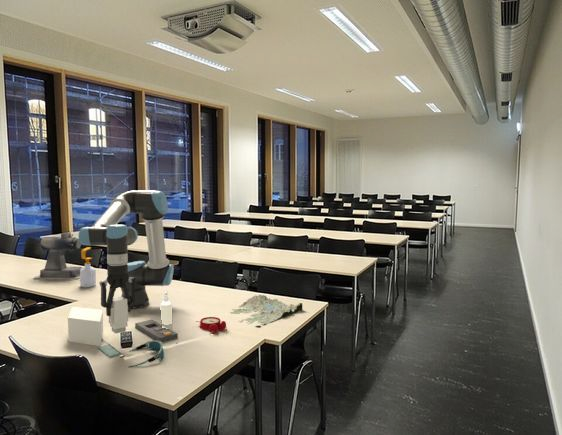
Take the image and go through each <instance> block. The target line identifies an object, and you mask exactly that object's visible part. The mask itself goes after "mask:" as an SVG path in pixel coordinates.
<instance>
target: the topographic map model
mask: <svg viewBox="0 0 562 435" xmlns="http://www.w3.org/2000/svg"><path fill="white" fill-rule="evenodd" d="M245 308H246V309H245ZM231 309H232V310H231V311H228V313H230V314H231V315H233V314H234V315H240V314H250V313H253V314H250V315H249V317H246V318H245V319H244V318H243V319H241V320H238V322H237V323H243V322H244V321H246V324H247V325H251V324H252V325H253V323H255V322H256V321H257V324H260V325H254V327H255V328H261V327H263V326H267V325H269V324H271V323H273V322H276V321H278V320H280V319H283V318H286V317H288V316H292V315H294V314H297V313H298V311H299V312H301V311H303V310H304V309H303V303H302V302H299V303H297V304H295V305H294V303H293V304H289V305H287V304H286V303H284V302H282V301H281V300H279V299H277V298H275V299H271V298H270V297H269V298H268V297H267V295H264V294H258V295H253V296H252V297H251V298H250V297H249V298H248V299H247V300H246V301H244V302H243V303H242V304H241V305H239V306H238V307H237V308H231ZM293 313H294V314H293Z"/></svg>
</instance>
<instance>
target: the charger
mask: <svg viewBox="0 0 562 435" xmlns="http://www.w3.org/2000/svg"><path fill="white" fill-rule="evenodd" d="M111 307H112V308H113V324H112V325H111V324H110V323H109V327H110V328H111V332H113V333H114V334H115V335H116V334H120V333H121V334H122V333H124V332H125V333H126V332H127V330H126V329H127V327H128V321H127V299H126V298H124V297H121V296H118V297H113V301H112V305H111Z"/></svg>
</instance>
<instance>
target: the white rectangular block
mask: <svg viewBox="0 0 562 435" xmlns="http://www.w3.org/2000/svg"><path fill="white" fill-rule="evenodd" d="M103 317H104V314H103V309H97V308H95V309H94V308H86V307H77V306H72V307H71V310H70V312H69V315H68V317H67V332H68V333H67V334H68V335H67V337H68V342H69V343H70V342H71V343H77V344H78V343H79V344H86V345H90V346H97V347H99V346H102V342H103V334H104V333H103V332H104V318H103Z"/></svg>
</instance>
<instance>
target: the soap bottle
mask: <svg viewBox="0 0 562 435" xmlns="http://www.w3.org/2000/svg"><path fill="white" fill-rule="evenodd" d="M91 249H92V247H91V246H87V247H85V248H83V249H81V250H80V251H81V252H80V253H81V259H82V260H84V261H85V262H84V266H83V267H82V269H81V270H80V279H79V284H80V287H81V288H91V287H95V286H96V285H97V276H96V275H97V274H96V268H95V267H93V266H91V262H90V261H91V260H93V257H86V254H87V251H88V250H91Z"/></svg>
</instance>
